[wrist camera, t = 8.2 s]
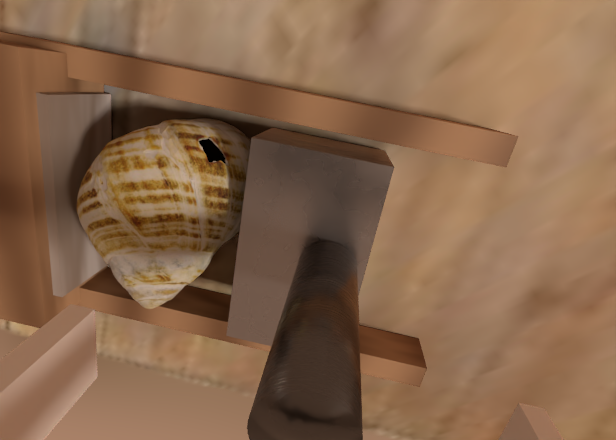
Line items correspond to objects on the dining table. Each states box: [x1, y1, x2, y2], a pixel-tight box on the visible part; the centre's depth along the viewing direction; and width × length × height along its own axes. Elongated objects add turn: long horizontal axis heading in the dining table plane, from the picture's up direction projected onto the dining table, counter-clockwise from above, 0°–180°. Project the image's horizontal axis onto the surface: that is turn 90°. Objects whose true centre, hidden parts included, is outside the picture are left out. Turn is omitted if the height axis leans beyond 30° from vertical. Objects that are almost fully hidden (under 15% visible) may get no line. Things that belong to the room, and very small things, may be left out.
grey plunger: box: [226, 128, 394, 440], centre depth 17 cm, size 7×12×15 cm, turn 169°
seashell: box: [77, 118, 251, 309], centre depth 21 cm, size 10×10×10 cm
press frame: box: [0, 32, 518, 387], centre depth 21 cm, size 28×17×6 cm, turn 79°
